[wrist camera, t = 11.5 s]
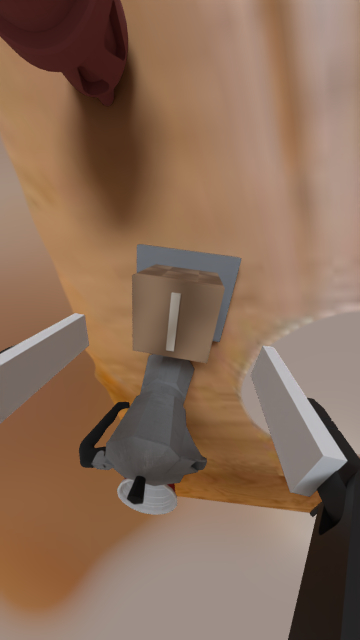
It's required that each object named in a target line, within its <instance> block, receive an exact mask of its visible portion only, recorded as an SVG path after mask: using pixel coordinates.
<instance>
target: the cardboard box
mask: <svg viewBox="0 0 360 640" xmlns="http://www.w3.org/2000/svg"><path fill="white" fill-rule="evenodd" d="M224 290H225V288H224V286H223V284H222V281H221V279H220V277H219V275H218V273H215V272H208V271H201V270H194V269H186V268H179V267H172V266H165V265H158V264H155V265H153V266H151V267H149V268H146V269H144V270H142V271H140V272H138V273H136V274H133V275H132V307H133V351H139V352H145V353H150V354H156V355H162V356H168V357H173V358H179V359H185V360H190V361H196V362H202V363H207V361H208V357H209V353H210V349H211V345H212V341H213V336H214V332H215V328H216V324H217V320H218V315H219V311H220V307H221V303H222V299H223V294H224Z"/></svg>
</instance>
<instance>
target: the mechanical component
mask: <svg viewBox="0 0 360 640" xmlns="http://www.w3.org/2000/svg"><path fill="white" fill-rule="evenodd" d="M0 36H1V38H2V39H3V40H4V41H5V42H6V43H7V44H8V45H9V46H10V47H11V48H12V49H13V50H14V51H15V52H16V53H18V54H19V55H20V56H21V57H22V58H23V59H25V60H26V61H27V62H29V63H30V64H32V65H34V66H36V67H38V68H40V69H43V70H46V71H51V72H62V73H63V75H64V76H65V77H66V78H67V80H68V81H69V82H70V83H71V84H72V85H73V86H74V87H75V88H76V89H77V90H78V91H79V92H81V93H82V94H84V95H87V96H89V97H98V98H99V100H100V101H101V102H102V103H103V104H104V105H105V106H109V105H111V104H112V102H113V100H114V88H115V86H116V85H117V84H118V82H119V80H120V78H121V76H122V74H123V71H124V68H125V64H126V60H127V52H128V32H127V23H126V19H125V14H124V10H123V7H122V4H121V1H120V0H0Z"/></svg>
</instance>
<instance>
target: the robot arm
mask: <svg viewBox="0 0 360 640" xmlns="http://www.w3.org/2000/svg"><path fill="white" fill-rule="evenodd" d="M88 346H89V341H88V335H87V328H86V321H85V315H82V314H77V313H75V314H73V315H71V316H69V317H67V318H66V319H64V320H62V321H60V322H58V323H56V324H54V325H53V326H51V327H49V328H47V329H45V330H43V331H42V332H40V333H38V334H36V335H34V336H32V337H31V338H29V339H27V340H25V341H23V342H21V343H20V344H17V345H14V346H12V347H9V348H7V349H5V350H3V351H1V352H0V423H2V422H3V421H4V420H5V419H6V418H7V417H8V416H9V415H11V414H12V413H13V412H14V411H15V410H16V409H17V408H18V407H20V406H21V405H22V404H23V403H24V402H25V401H26V400H28V399H29V398H30V397H31V396H32V395H33V394H34V393H35V392H37V391H38V390H39V389H40V388H41V387H42V386H43V385H44V384H46V383H47V382H48V381H49V380H50V379H51V378H52V377H53V376H55V375H56V374H57V373H58V372H59V371H60V370H61V369H63V368H64V367H65V366H66V365H67V364H68V363H69V362H71V361H72V360H73V359H74V358H75V357H76V356H77V355H78V354H79V353H81V352H82V351H83V350H84V349H85V348H86V347H88ZM251 377H252V380H253V383H254V386H255V389H256V392H257V395H258V398H259V401H260V404H261V407H262V410H263V413H264V416H265V419H266V422H267V425H268V428H269V431H270V434H271V437H272V440H273V443H274V446H275V449H276V451H277V454H278V457H279V460H280V463H281V466H282V469H283V472H284V475H285V478H286V481H287V484H288V487H289V490H290V492H292V493H296V494H300V495H304V496H309V497H310V496H311V495H312V494H313V493H314V492H315V491H316V490H317V491H318V493H319V495H320V497H321V500H322V502H321V503H320V504H318V505H317V506H316V507H315V508H314V509H313V510H312V511H311V512H310V515H311V516H312V517H313V516H315V515H316V514H317V516H316V520H315V524H314V529H313V533H312V537H311V543H310V546H309V551H308V555H307V560H306V564H305V568H304V573H303V577H302V581H301V585H300V590H299V595H298V598H297V603H296V607H295V611H294V616H293V620H292V625H291V629H290V633H289V638H288V640H360V459H359V457H358V456H357V454H356V453H355V452H354V450H353V449H352V448H351V446H350V445H349V443H348V442H347V441H346V439H345V438H344V436H343V435H342V433H341V432H340V431H339V430H338V428H337V427H336V425H335V424H334V422H333V421H331V418H330V417H329V415H328V414H327V412H326V411H325V409H324V408H323V407H322V406H321V405H320V404H318V403H317V402H316V401H315V400H314V399H311V398H306V396H305V394H304V393H303V391H302V390H301V388H300V387H299V385H298V384H297V382H296V381H295V379H294V377H293V376H292V375H291V373H290V371H289V370H288V368H287V367H286V365H285V364H284V362H283V361H282V359H281V358H280V356H279V354H278V353H277V352H276V350H275V349H274V347H268V346H262V349H261V351H260V354H259V356H258V359H257V361H256V364H255V366H254V369H253V371H252V374H251Z"/></svg>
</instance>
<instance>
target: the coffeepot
mask: <svg viewBox="0 0 360 640" xmlns="http://www.w3.org/2000/svg"><path fill="white" fill-rule="evenodd" d="M193 372H194V368H193V366H192V364H191V363H190V361H189V360H185V359H179V358H173V357H168V356H162V355H156V354H153V355H150V356H149V357H148V362H147V366H146V371H145V375H144V380H143V384H142V388H141V393H140V395H139V396H137V397H136V398H135V400H134V401H133V403H132V404H131V406H130V405H129V402H118V403H117V404H116V405H115V406H114V407H113V408H112V409H111V410H110V411H109V412H108V413H107V414H106V415H105V416H104V418H103V419H102V420H101V421H100V422H99V423H98V425H96V427H95V428H94V429H93V430H92V431H91V432H90V433H89V434H88V435H87V436H86V437H85V438H84V440H83V441H82V443H81V444H80V448H79V454H80V464H81V466H83V467H86V468H93V467H94V468H97V469H104V470H109V469H111V468H114V469H115V470H116V471H117V472H118V473H120V474H121V475H122V476H123V477H124V478H127V479H131V480H134V483H133V485H132V487H131V489H130V492H129V494H128V496H127V500H129V501H130V502H131V503H132V504H134V505H136V504H143V501H144V492H145V484H148V485H152V486H159V485H166V484H173V483H180V481H181V479H182V478H183V476H184V475H186V474H191V473H196V472H198V470H203V469H204V467H205V466H206V463H207V458H205V457H203V456H202V455H201V454H200V452H199V451H198V449H197V447H196V446H195V444H194V442H193V440H192V437H191V435H190V433H189V431H188V429H187V427H186V412H185V409H184V407H183V404H184V401H185V397H186V394H187V391H188V388H189V384H190V381H191V378H192V375H193ZM129 407H130V408H129ZM125 408H129V409H128V411H127V412H126V414H125V416H124V417H123V419H122V420H121V422H120V424H119V425H118V427H117V428H116V430H115V431H114V433H113V435H112V436H111V438H110V439H109V441H108V442H107V443H106V447H100V448H94V446H95V444H96V443H97V442H98V441H99V439H100V438H101V436H102V435H103V433H104V432H105V430H106V429H107V428H108V426H109V425H110V424H112V423H113V421H114V420H115V418H116V416H117V414H118V412H119V411H120V410H122V409H125Z"/></svg>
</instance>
